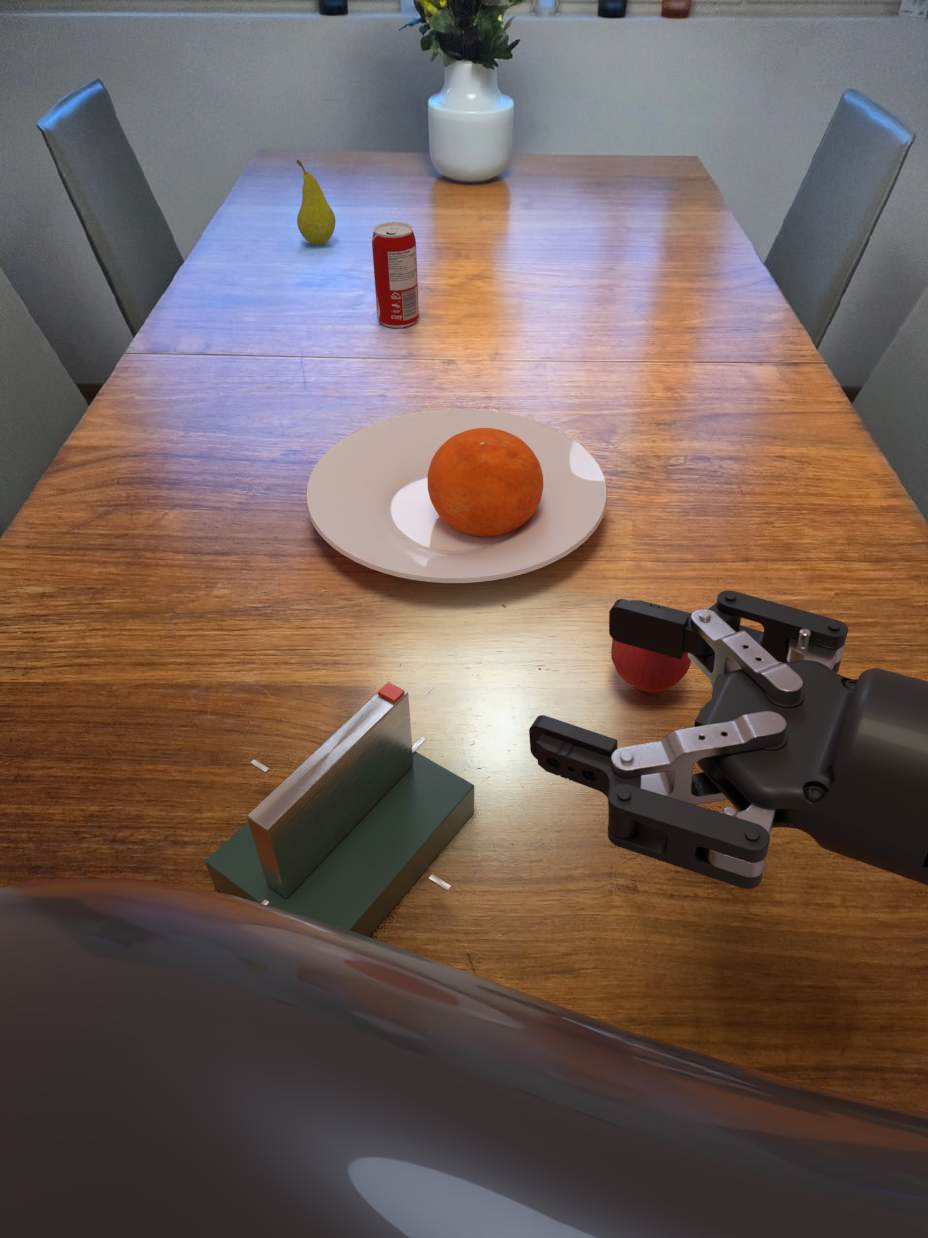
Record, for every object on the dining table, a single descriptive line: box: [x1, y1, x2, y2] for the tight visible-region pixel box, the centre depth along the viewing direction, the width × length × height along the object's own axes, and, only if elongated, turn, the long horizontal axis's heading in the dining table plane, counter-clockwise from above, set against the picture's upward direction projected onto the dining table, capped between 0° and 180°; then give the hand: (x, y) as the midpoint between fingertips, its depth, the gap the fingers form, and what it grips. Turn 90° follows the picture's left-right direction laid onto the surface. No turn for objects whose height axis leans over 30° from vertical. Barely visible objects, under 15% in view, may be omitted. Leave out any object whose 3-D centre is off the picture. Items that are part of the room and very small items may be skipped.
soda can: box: [371, 221, 420, 329], centre depth 112 cm, size 6×6×12 cm
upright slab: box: [246, 681, 413, 898], centre depth 52 cm, size 12×2×7 cm, turn 144°
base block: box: [205, 736, 475, 938], centre depth 55 cm, size 16×16×3 cm
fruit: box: [296, 159, 336, 246], centre depth 133 cm, size 6×6×12 cm
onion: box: [610, 639, 692, 693], centre depth 64 cm, size 6×6×8 cm
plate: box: [305, 408, 608, 584], centre depth 81 cm, size 28×28×9 cm
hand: (575, 673), depth 40 cm, fingers open, 8 cm apart
